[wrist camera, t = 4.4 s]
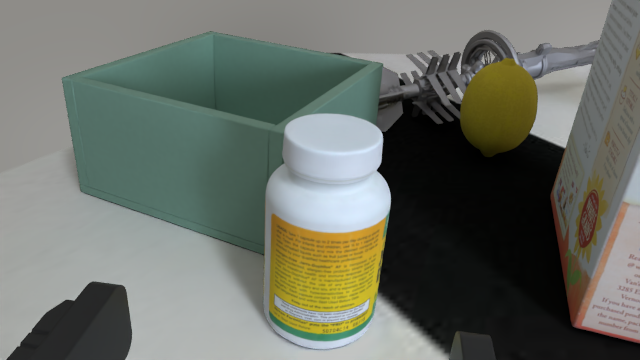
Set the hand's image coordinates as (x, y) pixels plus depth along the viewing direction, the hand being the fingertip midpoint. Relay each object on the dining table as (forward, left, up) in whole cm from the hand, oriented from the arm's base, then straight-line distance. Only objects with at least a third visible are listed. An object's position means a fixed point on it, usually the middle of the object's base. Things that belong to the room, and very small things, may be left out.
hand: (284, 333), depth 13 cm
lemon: (+1, +33, -9) cm, 34 cm away
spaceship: (-1, +43, -9) cm, 44 cm away
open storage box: (-14, +20, -9) cm, 26 cm away
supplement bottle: (-3, +10, -9) cm, 14 cm away
